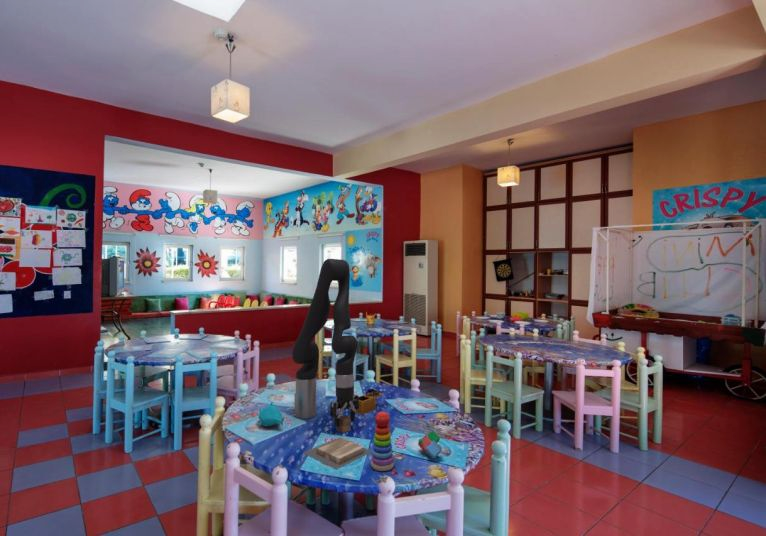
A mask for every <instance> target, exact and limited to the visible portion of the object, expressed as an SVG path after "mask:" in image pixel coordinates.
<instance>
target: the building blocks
mask: <svg viewBox="0 0 766 536" xmlns="http://www.w3.org/2000/svg"><path fill="white" fill-rule="evenodd" d="M440 440H441V438H440V436H439V435H438V434H437V433H436V432H435V431H434V430H433V429H432V430H431V431H429V433H428V434H427V435H426V434H424V436H423V437H422V438H419V439H418V442H417V445H418V447H420V449H421V450H422V451H423V452H424V453H425V454H428V455H429V456H430V457H431V458H432V460H435V459H436V457H438V455H439V454H440V453H441V452H442V448H441V447H440V445H439V444H438V443H439V441H440Z"/></svg>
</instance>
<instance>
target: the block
mask: <svg viewBox="0 0 766 536" xmlns="http://www.w3.org/2000/svg"><path fill="white" fill-rule="evenodd" d="M339 418H340V427H336V431H337V432H339V433H342V434H345V433H347V432H350V431H351V425H352V423H351V422H352V421H351V417H350V415H349V416H348V415H346V414H343V415H342V414H341V415H340V417H339Z"/></svg>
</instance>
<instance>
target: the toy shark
mask: <svg viewBox="0 0 766 536" xmlns="http://www.w3.org/2000/svg"><path fill="white" fill-rule="evenodd" d="M257 416H258V420H259V423H258V426H261V424H262V425H263V426H266V427H273V426H275V425H277V424H279V425H281V426H282V427H284V420H285V417H283V414H282V412H281V411H280V410H279V409H278V408H277V407H276V406H275V405H274V404H273V401H270V404H268V405H266V407H265V406H264V407H260V408H259V410H258V412H257ZM272 425H273V426H272Z"/></svg>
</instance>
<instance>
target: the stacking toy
mask: <svg viewBox="0 0 766 536" xmlns="http://www.w3.org/2000/svg"><path fill="white" fill-rule="evenodd" d="M374 421H375V424H376V426H375V428H374V431H375V432H374V438H373V444H372V448H373V449H372V450H371V451H372V452H371V454H372V456H371V461H370V465H371V468H372V469H374V470H375V471H378V472H386V471H391V470H392V469H393V468H394V466H395V461H394V460H395V457H394V454H393V449H392V448H393V445H392V438H391V437H392V433H391V432H390V430H391V428H390V426H389V424H390V422H391V417H390V415H389V413H388V412H386V411H379V412H377V413H376V414H375V417H374Z"/></svg>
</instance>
